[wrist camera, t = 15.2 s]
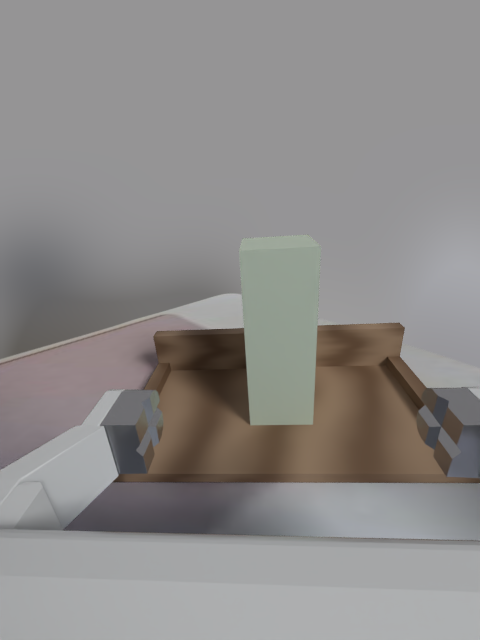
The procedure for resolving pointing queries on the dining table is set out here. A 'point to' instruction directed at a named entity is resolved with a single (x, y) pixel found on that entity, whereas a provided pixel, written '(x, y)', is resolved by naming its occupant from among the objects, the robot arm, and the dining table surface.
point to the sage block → (280, 326)
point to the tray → (290, 440)
